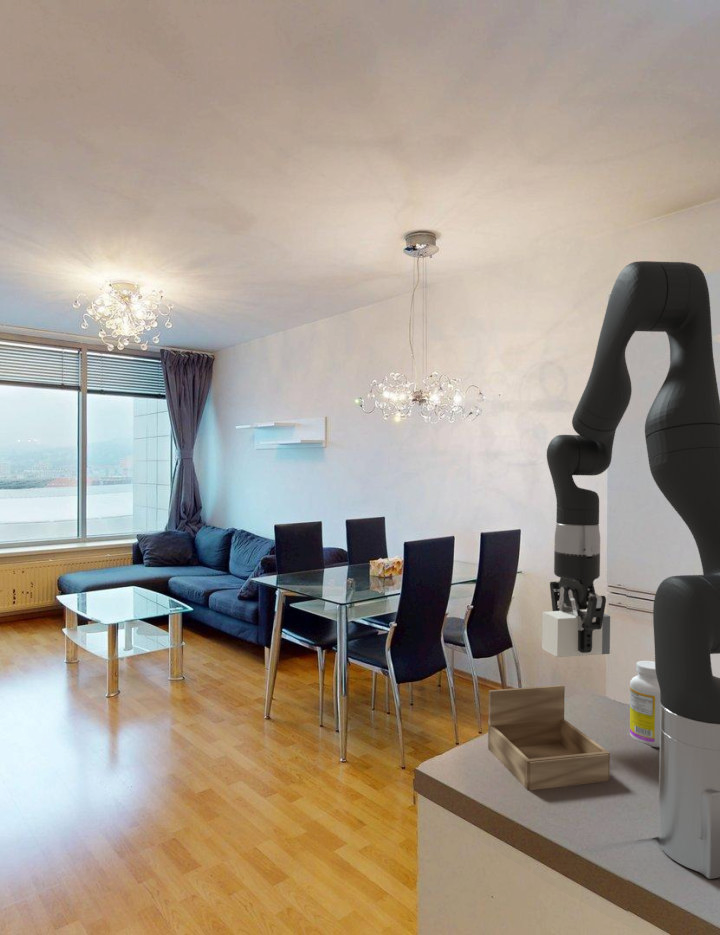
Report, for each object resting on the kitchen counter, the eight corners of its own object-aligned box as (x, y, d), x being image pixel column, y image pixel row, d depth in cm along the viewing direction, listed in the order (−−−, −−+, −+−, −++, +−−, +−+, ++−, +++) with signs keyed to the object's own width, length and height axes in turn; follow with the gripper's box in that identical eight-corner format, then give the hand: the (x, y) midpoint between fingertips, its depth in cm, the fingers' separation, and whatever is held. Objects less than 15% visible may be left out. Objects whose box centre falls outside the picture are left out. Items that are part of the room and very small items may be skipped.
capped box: (557, 657, 104) (557, 618, 104) (542, 648, 109) (542, 611, 109) (609, 653, 107) (610, 616, 107) (592, 645, 112) (593, 609, 112)
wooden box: (610, 784, 90) (611, 716, 90) (527, 794, 87) (528, 723, 87) (561, 744, 103) (562, 684, 103) (488, 752, 100) (488, 690, 100)
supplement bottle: (663, 733, 108) (664, 659, 108) (679, 750, 102) (680, 672, 102) (624, 730, 109) (625, 657, 109) (637, 748, 102) (638, 670, 102)
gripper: (536, 544, 114) (535, 636, 114) (581, 556, 100) (579, 661, 100) (573, 543, 116) (571, 634, 116) (622, 555, 102) (620, 658, 102)
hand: (575, 646), depth 108 cm, fingers closed on capped box, 5 cm apart
